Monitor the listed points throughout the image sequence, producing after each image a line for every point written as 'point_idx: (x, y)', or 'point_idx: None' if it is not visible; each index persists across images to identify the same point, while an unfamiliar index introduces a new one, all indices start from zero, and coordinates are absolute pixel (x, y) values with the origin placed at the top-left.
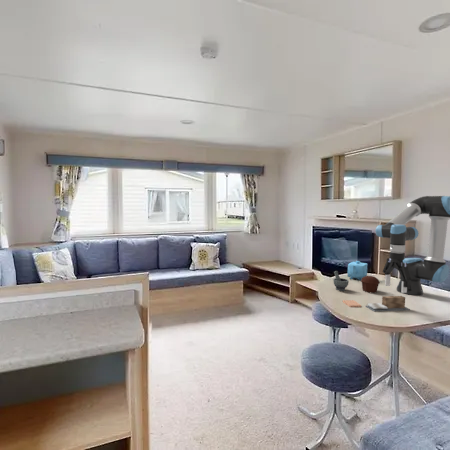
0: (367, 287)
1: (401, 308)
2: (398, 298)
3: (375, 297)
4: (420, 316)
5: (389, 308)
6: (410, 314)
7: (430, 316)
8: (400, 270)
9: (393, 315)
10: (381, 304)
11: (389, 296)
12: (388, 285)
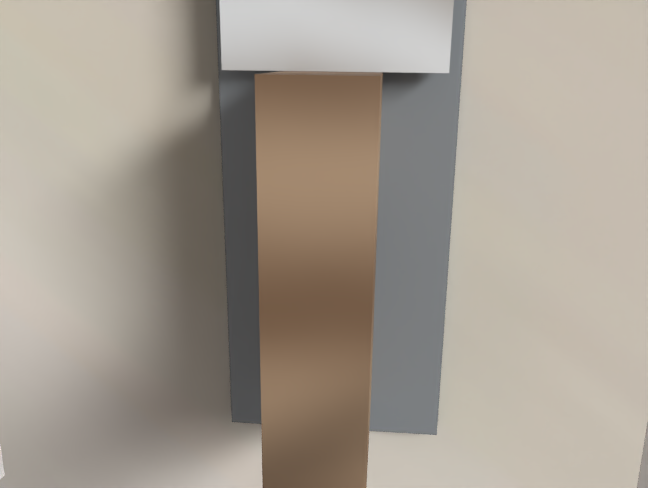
0: None
1: None
2: (263, 360)
3: None
4: (9, 368)
5: None
6: (76, 298)
7: (14, 480)
8: None
9: (33, 16)
10: (373, 53)
11: (355, 239)
12: (642, 485)
